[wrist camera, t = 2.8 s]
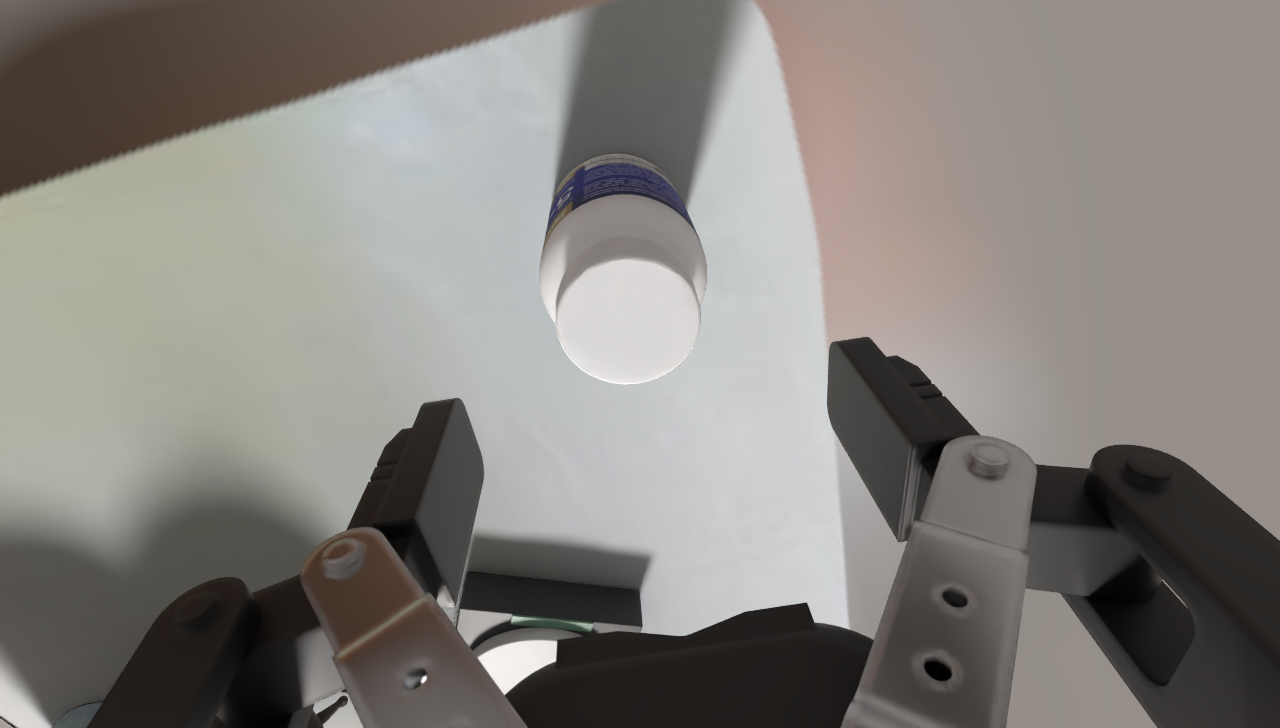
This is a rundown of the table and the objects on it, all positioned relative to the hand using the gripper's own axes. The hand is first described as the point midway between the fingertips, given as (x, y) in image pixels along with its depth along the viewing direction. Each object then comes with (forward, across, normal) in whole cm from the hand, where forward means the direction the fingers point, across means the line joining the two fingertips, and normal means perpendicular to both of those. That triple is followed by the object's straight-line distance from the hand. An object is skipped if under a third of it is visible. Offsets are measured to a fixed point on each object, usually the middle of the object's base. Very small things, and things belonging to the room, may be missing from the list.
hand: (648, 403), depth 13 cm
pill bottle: (+13, 0, 0) cm, 13 cm away
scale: (+13, +9, +25) cm, 29 cm away
